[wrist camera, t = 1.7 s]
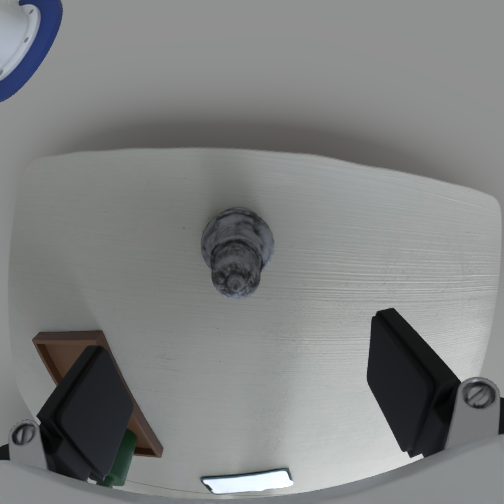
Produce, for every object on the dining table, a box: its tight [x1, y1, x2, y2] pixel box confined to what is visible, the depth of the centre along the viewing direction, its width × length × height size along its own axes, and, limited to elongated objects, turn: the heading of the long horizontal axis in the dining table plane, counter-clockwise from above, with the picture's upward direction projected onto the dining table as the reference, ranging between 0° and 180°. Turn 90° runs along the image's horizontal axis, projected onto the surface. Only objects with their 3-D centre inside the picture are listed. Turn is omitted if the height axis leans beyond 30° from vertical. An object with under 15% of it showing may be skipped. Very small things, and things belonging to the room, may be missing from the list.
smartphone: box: [201, 469, 293, 494], centre depth 39 cm, size 8×1×16 cm
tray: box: [32, 331, 163, 458], centre depth 31 cm, size 23×11×2 cm, turn 9°
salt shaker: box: [201, 208, 274, 299], centre depth 21 cm, size 6×6×12 cm
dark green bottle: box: [96, 428, 137, 488], centre depth 28 cm, size 5×5×13 cm
